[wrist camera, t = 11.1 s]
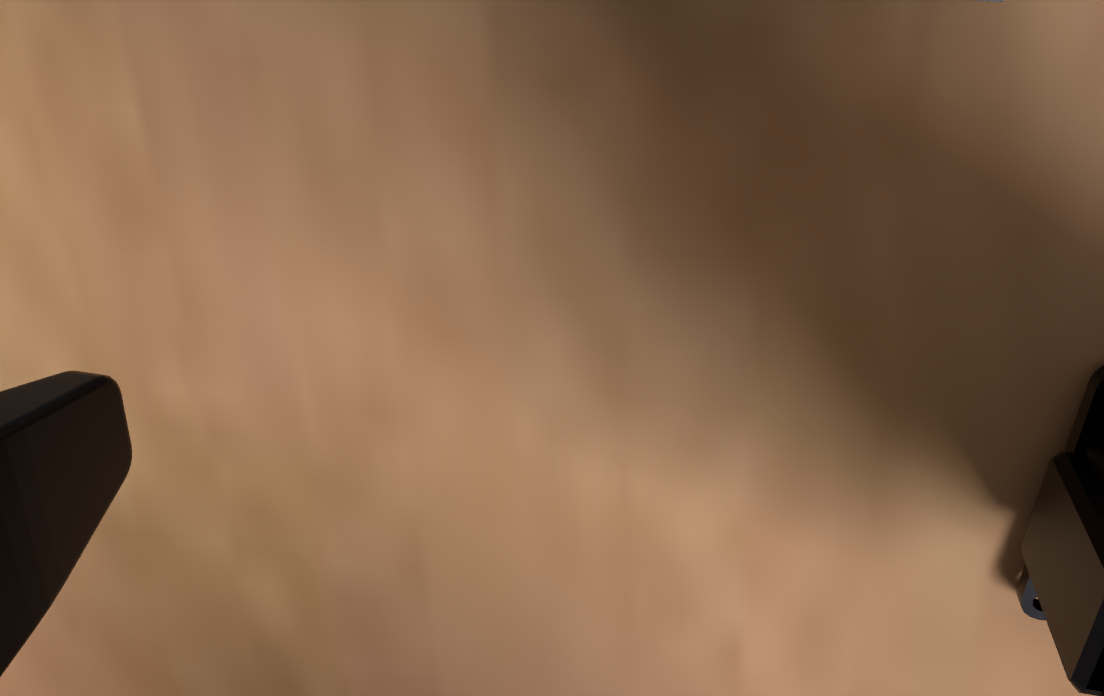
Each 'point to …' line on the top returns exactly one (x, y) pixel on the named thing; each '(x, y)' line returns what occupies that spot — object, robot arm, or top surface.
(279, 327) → the top surface
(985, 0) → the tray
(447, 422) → the top surface
